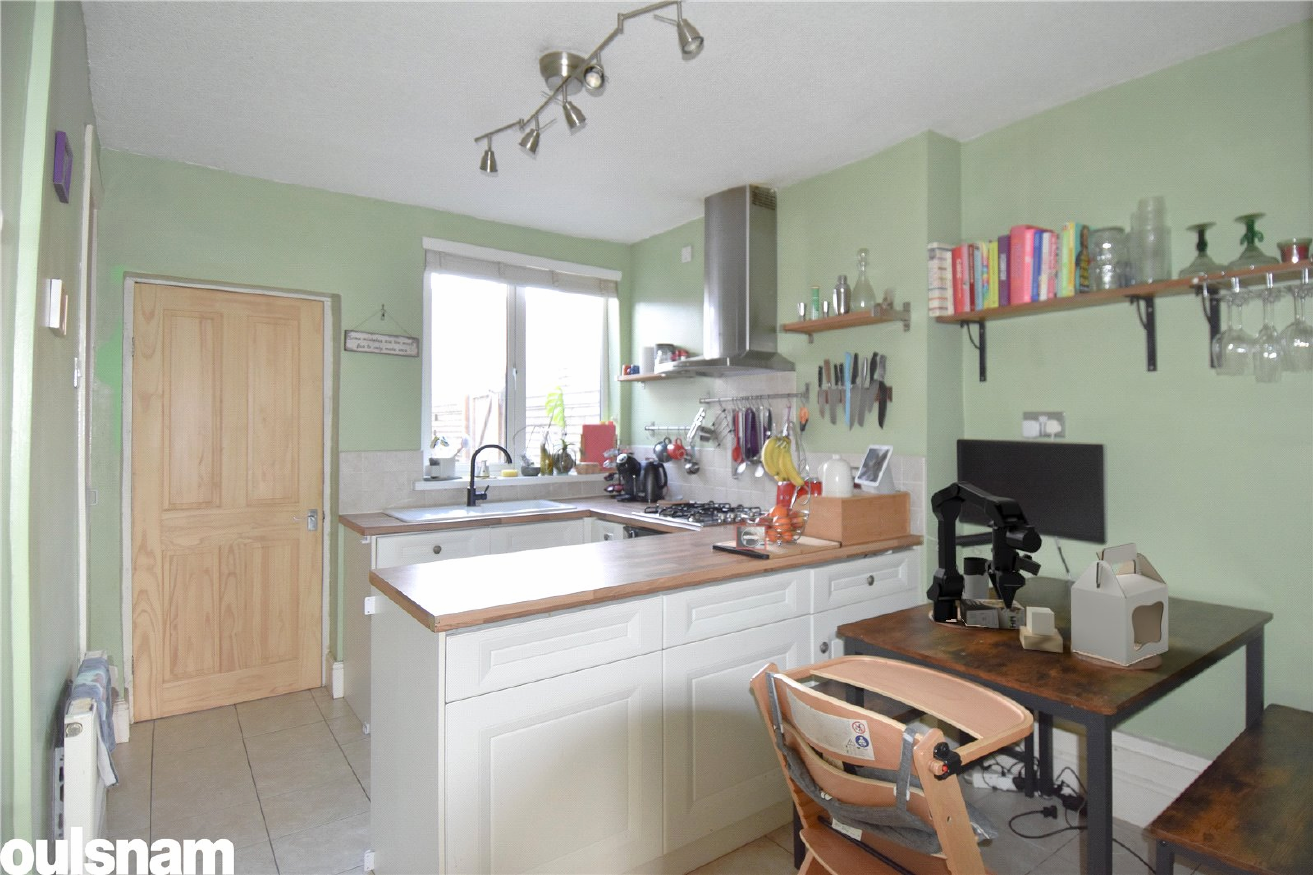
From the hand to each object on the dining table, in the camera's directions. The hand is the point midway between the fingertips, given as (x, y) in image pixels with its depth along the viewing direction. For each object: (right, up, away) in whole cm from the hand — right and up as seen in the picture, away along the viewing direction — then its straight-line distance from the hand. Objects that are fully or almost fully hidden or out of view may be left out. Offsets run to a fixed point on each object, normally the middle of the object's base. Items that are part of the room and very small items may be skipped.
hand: (1004, 604), depth 179 cm
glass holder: (+11, -11, +45) cm, 48 cm away
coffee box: (+15, -8, +20) cm, 26 cm away
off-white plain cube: (+11, -8, +3) cm, 14 cm away
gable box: (+29, -12, -3) cm, 31 cm away
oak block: (+11, -12, +2) cm, 17 cm away
